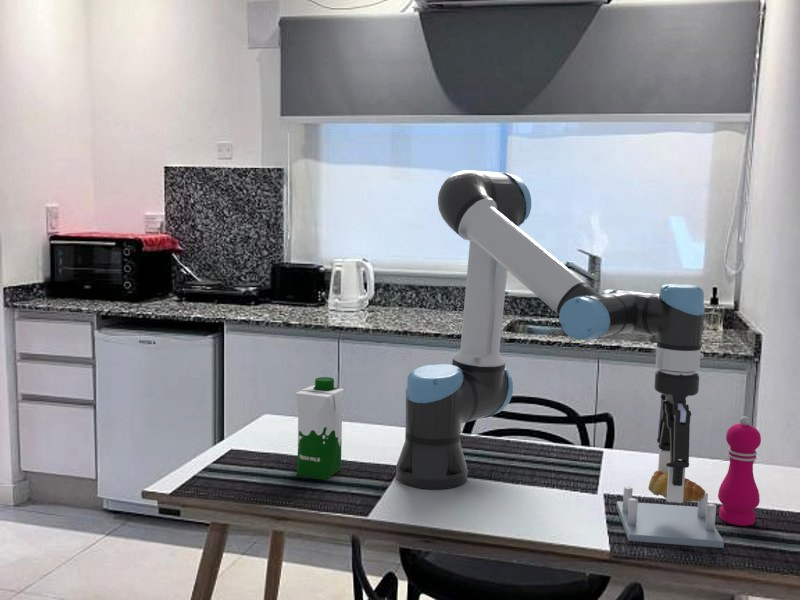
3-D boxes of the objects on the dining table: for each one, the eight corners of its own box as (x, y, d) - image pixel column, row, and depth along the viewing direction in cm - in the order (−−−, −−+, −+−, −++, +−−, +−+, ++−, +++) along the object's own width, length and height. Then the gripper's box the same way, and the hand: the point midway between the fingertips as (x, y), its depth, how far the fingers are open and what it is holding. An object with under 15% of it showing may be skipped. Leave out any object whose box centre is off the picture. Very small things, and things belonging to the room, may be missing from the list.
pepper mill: (709, 512, 157) (717, 411, 155) (745, 512, 158) (753, 411, 156) (727, 527, 150) (736, 421, 148) (765, 526, 151) (774, 421, 148)
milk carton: (346, 469, 177) (348, 379, 174) (327, 482, 168) (328, 387, 166) (310, 463, 180) (311, 374, 177) (290, 476, 172) (290, 383, 169)
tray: (628, 540, 143) (630, 509, 142) (616, 507, 159) (618, 478, 158) (723, 547, 141) (726, 516, 140) (701, 513, 157) (703, 484, 156)
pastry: (709, 496, 148) (710, 476, 148) (697, 507, 143) (698, 486, 142) (658, 485, 154) (659, 465, 153) (644, 495, 148) (645, 475, 148)
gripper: (713, 384, 136) (704, 515, 138) (686, 360, 156) (678, 475, 159) (667, 382, 137) (659, 512, 139) (645, 358, 157) (639, 473, 160)
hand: (669, 492), depth 149 cm, fingers closed on pastry, 8 cm apart
